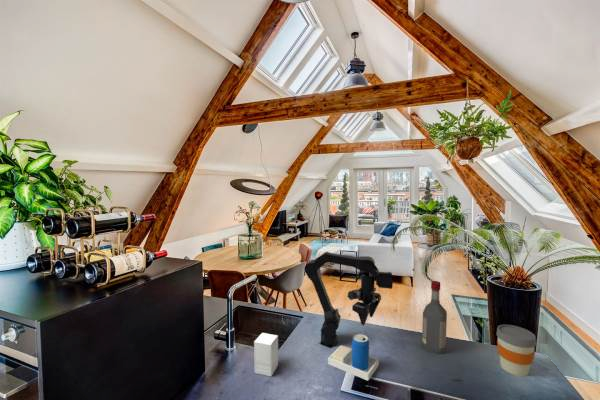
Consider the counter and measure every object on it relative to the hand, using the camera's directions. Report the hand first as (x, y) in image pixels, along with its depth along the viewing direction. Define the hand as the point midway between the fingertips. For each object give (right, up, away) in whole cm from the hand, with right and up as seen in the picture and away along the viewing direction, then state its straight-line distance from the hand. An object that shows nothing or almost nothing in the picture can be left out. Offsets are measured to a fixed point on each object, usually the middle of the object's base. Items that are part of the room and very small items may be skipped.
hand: (367, 320), depth 125 cm
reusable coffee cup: (+56, -14, -12) cm, 59 cm away
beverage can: (-6, -13, -12) cm, 19 cm away
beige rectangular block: (-12, -13, -8) cm, 19 cm away
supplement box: (-43, -14, -13) cm, 47 cm away
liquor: (+31, -13, +2) cm, 33 cm away
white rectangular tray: (-8, -14, -11) cm, 19 cm away
